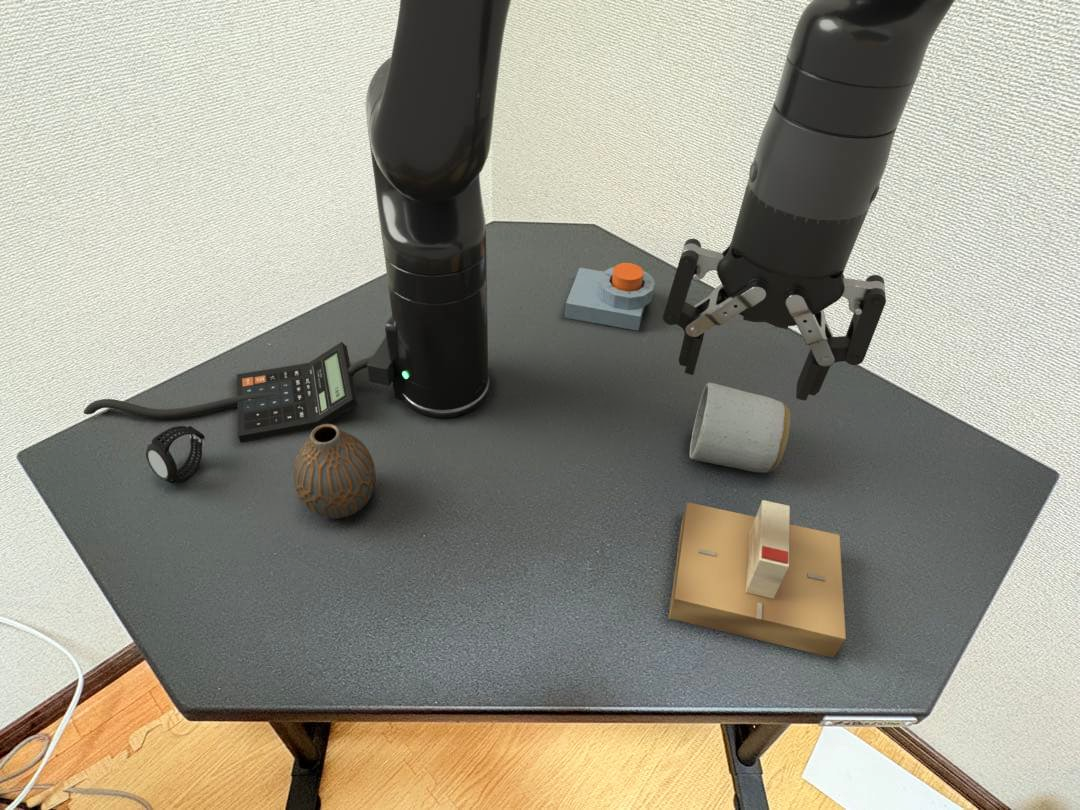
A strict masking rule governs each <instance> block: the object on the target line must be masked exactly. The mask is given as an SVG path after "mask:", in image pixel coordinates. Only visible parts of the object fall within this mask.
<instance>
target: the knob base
mask: <svg viewBox="0 0 1080 810" xmlns="http://www.w3.org/2000/svg"><path fill="white" fill-rule="evenodd" d="M683 512H684V513H683V516H682V519H681V524H680V529H679V530H680V531H679V539H678V545H677V553H676V561H675V568H674V575H673V582H672V588H671V589H672V590H671V598H670V605H669V612H668V619H669V620H674V621H678V622H683V623H687V624H690V625H694V626H699V627H703V628H707V629H711V630H714V631H720V632H723V633H727V634H732V635H736V636H739V637H745V638H749V639H752V640H756V641H761V642H765V643H769V644H774V645H777V646H782V647H786V648H789V649H794V650H799V651H803V652H807V653H811V654H815V655H820V656H824V657H827V658H832V659H834V658H835V657H836V655H837V653H838V652H839V650H841V647H843V644H844V643H845V642H846V639H847V636H846V619H845V617H846V616H845V602H844V601H845V600H844V586H843V585H844V584H843V583H844V582H843V569H842V568H843V567H842V552H841V537H840V534H837V533H833V532H828V531H823V530H820V529H814V528H809V527H805V526H801V525H796V524H791V523H790V534H789V568H788V570H787V572H786V574H785V576H784V578H783V580H782V582H781V584H780V586H779V588H778V590H777V592H776V595H775V597H774V599H772V598H767V597H763V596H759V595H755V594H751V593H747V592H746V576H747V561H748V545H749V533H750V530H751V528H752V525H753V523H754V520H755V517H756V516H753V515H749V514H745V513H739V512H735V511H731V510H726V509H721V508H717V507H712V506H707V505H702V504H698V503H693V502H689V501H687V503H686V505H685V509H684V511H683Z"/></svg>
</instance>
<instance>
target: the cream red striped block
mask: <svg viewBox="0 0 1080 810" xmlns="http://www.w3.org/2000/svg"><path fill="white" fill-rule="evenodd" d="M790 513H791V506H790V505H787V504H782V503H779V502H775V501H771V500H765V499H762V500H761V503H760V505H759V507H758V510H757V512H756V514H755V516H754V517H755V520H754V523H753V525H752V528H751V530H750V533H749V545H748V561H747V576H746V592H747V593H751V594H755V595H759V596H763V597H767V598H772V599H774V597H775V595H776V592H777V590H778V588H779V586H780V584H781V582H782V580H783V578H784V576H785V574H786V572H787V570H788V568H789V534H790V524H791V522H790V521H791V514H790Z"/></svg>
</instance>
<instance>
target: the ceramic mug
mask: <svg viewBox="0 0 1080 810" xmlns="http://www.w3.org/2000/svg"><path fill="white" fill-rule="evenodd" d="M790 428H791V412H790V409H789V407H788V406H787V404H785V403H784V402H782V401H780V400H777V399H775V398H772V397H769V396H767V395H766V396H765V395H762V394H757V393H753V392H748V391H744V390H740V389H738V388H734V387H729V386H726V385H722V384H718V383H714V382H707V383H706V384H705V386H704V387H703V390H702V393H701V395H700V400H699V403H698V407H697V411H696V415H695V419H694V422H693V428H692V433H691V440H690V445H689V458H690V459H691V460H693V461H698V462H702V463H708V464H712V465H717V466H723V467H728V468H734V469H738V470H743V471H747V472H753V473H764V474H765V473H771V472H773V471H774V470H776V469H777V468H778V467H779V465H780V463H781V461H782V459H783V457H784V454H785V451H786V447H787V445H788V440H789V436H790V435H789V434H790V430H791V429H790Z"/></svg>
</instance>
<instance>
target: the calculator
mask: <svg viewBox="0 0 1080 810" xmlns="http://www.w3.org/2000/svg"><path fill="white" fill-rule="evenodd" d="M350 361H351V360H350V355H349V351H348V346H347V345H346V344H345V343H344V342H343V341H341V342H339V343H337V344H336V345H334V346H333V347H331V348H329V349H328V350H326V351H325V352H324V353H322V354H320V355H318V356H317V357H316V358H314V359H312V360H311V361H310V362H306V363H299V364H294V365H287V366H281V367H275V368H267V369H262V370H256V371H249V372H244V373H237V374H236V397H237V396H242V395H248V394H254V393H263V392H277V393H281V394H280V395H277V396H271V397H265V398H257V399H250V400H244V401H239V402H237V437H238V440H239V442H240V443H243V442H250V441H254V440H255V441H256V440H259V439H265V438H271V437H276V436H281V435H287V434H292V433H298V432H304V431H309V430H314V429H315V428H316V427H317V426H320V425H323V424H328V423H329V422H331V421H332V420H334V419H335V418H337V417H339V416H340V415H342V414H344V413H345V412H347V411H349V410H351V409H352V408H353V407H355V406H357V405H358V404H359V402H358V398H357V393H356V388H355V387H356V386H355V383H354V376H351V375H350V374H349V372H348V368H349V367H350V366H351V362H350Z"/></svg>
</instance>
